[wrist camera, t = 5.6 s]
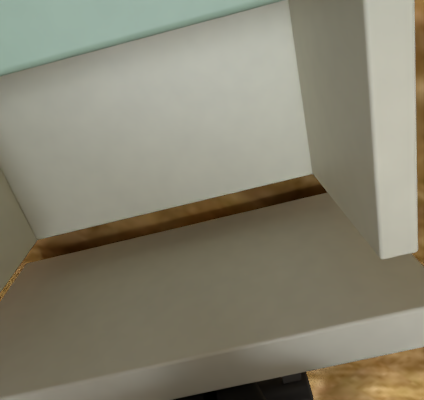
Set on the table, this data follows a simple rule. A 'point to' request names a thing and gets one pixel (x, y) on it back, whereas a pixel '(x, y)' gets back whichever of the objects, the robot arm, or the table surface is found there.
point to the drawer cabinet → (95, 25)
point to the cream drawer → (209, 188)
